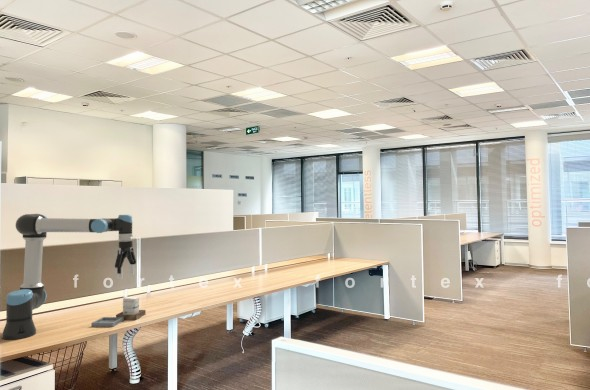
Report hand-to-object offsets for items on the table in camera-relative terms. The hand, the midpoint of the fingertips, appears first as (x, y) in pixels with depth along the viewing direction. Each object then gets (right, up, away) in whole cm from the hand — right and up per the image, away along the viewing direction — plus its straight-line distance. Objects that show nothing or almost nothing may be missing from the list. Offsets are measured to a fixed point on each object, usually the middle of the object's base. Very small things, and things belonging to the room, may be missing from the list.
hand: (126, 277), depth 247 cm
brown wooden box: (-2, -27, +13) cm, 30 cm away
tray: (-10, -27, -1) cm, 29 cm away
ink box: (-2, -27, +13) cm, 30 cm away
